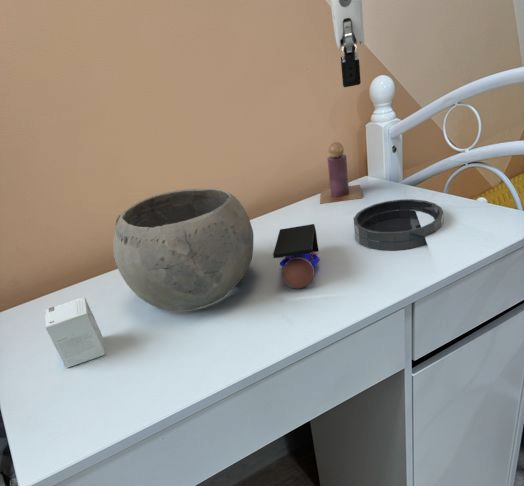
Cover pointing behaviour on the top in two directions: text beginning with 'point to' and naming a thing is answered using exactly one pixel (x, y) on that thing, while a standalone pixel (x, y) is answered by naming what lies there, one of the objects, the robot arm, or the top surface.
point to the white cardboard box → (74, 332)
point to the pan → (396, 224)
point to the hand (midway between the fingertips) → (351, 81)
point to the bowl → (183, 247)
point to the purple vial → (338, 170)
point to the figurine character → (297, 254)
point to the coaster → (353, 195)
